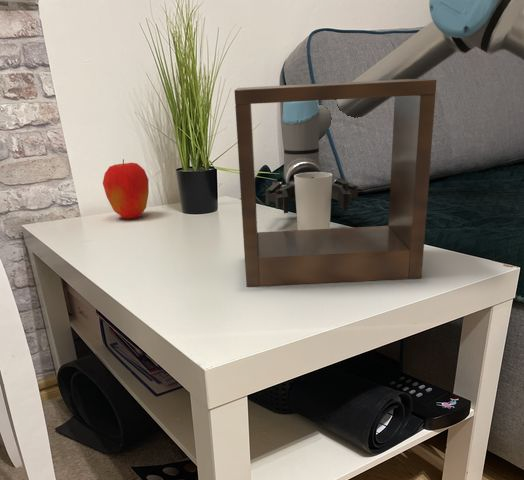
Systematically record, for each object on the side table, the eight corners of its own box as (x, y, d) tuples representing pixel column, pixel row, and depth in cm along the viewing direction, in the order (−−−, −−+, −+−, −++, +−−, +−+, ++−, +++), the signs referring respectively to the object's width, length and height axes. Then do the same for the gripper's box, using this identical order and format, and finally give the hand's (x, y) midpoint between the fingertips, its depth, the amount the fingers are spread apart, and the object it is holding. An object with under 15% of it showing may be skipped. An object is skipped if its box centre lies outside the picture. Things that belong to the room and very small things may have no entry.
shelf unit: (398, 250, 91) (408, 79, 81) (421, 278, 79) (436, 79, 68) (247, 257, 91) (237, 87, 81) (246, 286, 79) (234, 90, 68)
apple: (146, 210, 128) (139, 154, 123) (158, 218, 121) (150, 158, 115) (105, 216, 125) (95, 158, 119) (113, 224, 117) (104, 163, 112)
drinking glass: (287, 232, 105) (286, 175, 101) (316, 225, 108) (316, 170, 104) (310, 238, 100) (309, 179, 96) (339, 232, 103) (340, 174, 99)
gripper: (358, 197, 119) (379, 222, 99) (252, 202, 119) (252, 228, 99) (359, 159, 116) (381, 177, 96) (250, 165, 116) (249, 184, 96)
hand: (315, 203), depth 97 cm, fingers open, 9 cm apart
